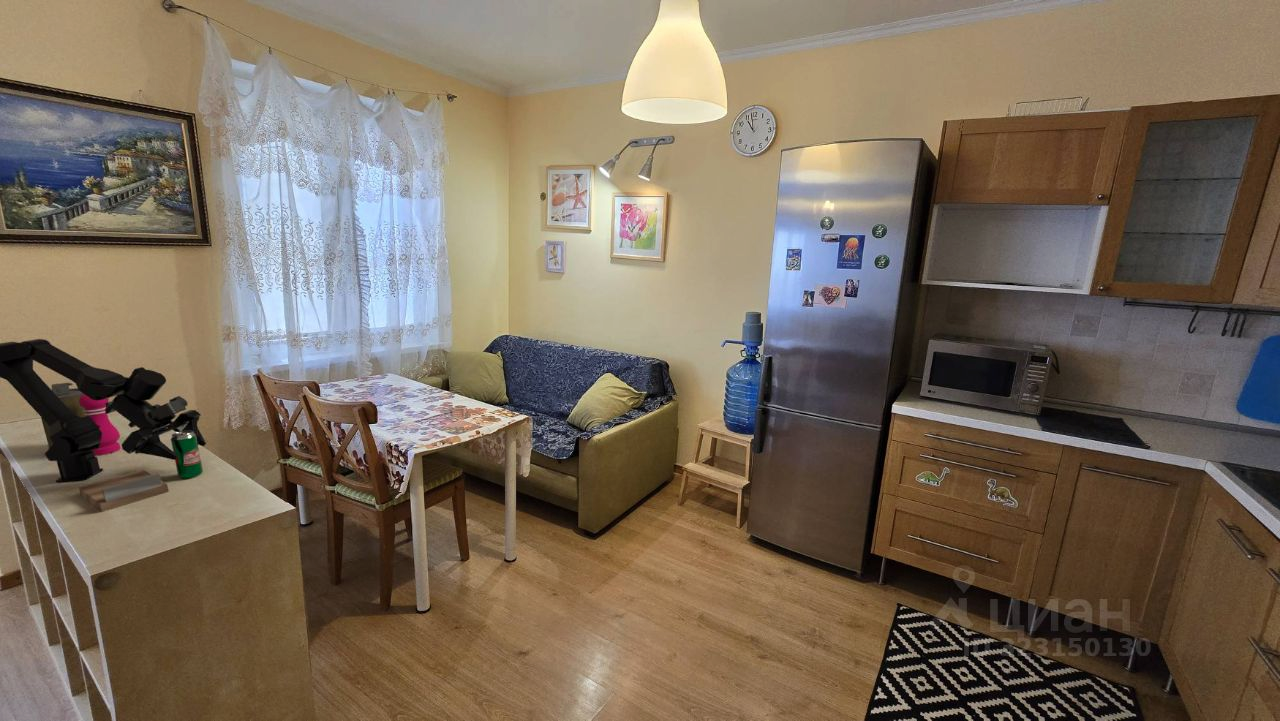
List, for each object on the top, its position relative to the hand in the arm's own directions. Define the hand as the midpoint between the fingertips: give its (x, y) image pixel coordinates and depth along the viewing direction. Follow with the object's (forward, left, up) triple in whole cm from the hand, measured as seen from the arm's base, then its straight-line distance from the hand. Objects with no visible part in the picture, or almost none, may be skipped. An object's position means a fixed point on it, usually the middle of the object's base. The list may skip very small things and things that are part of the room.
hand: (191, 451), depth 137 cm
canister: (-46, +30, -7) cm, 56 cm away
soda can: (-1, 0, -7) cm, 7 cm away
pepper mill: (-35, +25, -7) cm, 44 cm away
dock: (-11, -8, -7) cm, 15 cm away
